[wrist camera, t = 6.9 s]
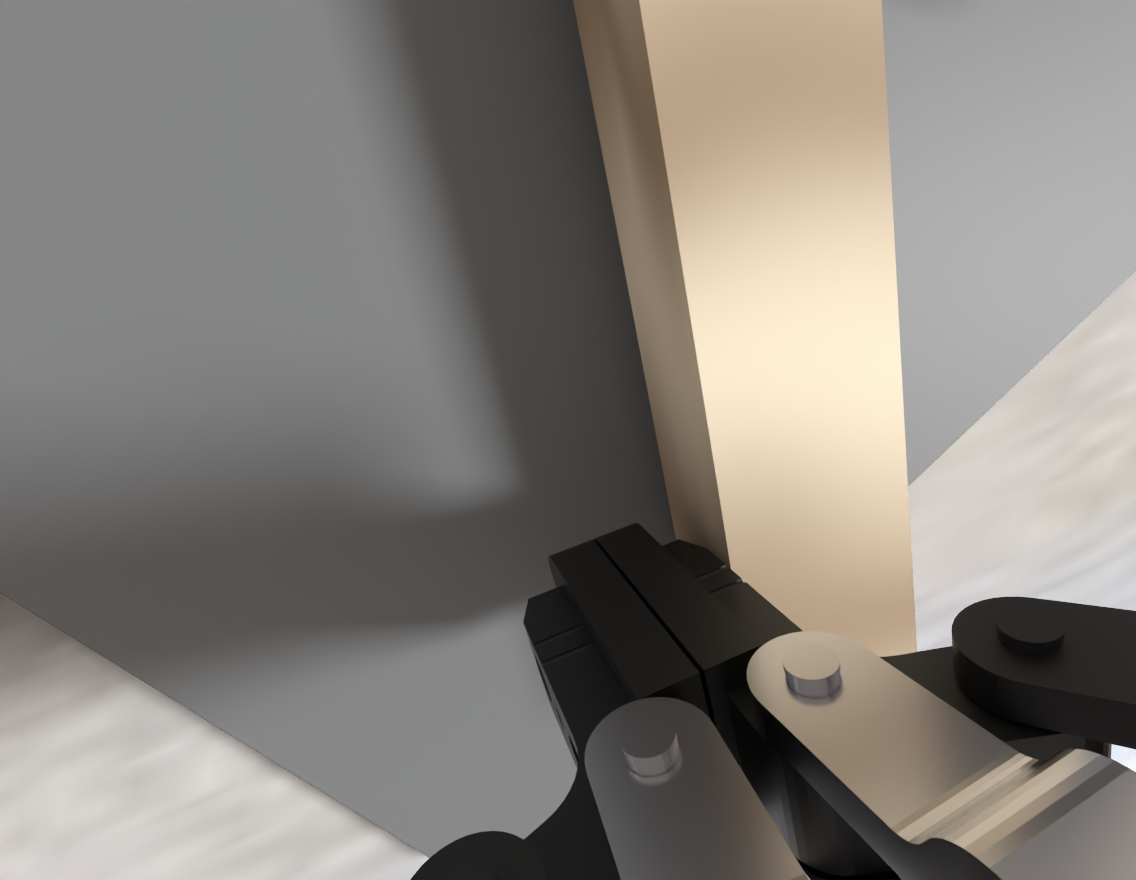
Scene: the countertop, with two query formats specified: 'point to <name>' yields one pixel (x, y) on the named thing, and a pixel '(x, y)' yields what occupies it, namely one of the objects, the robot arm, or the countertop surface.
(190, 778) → the countertop surface
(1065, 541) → the countertop surface
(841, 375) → the latch bar
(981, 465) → the countertop surface
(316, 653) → the board
